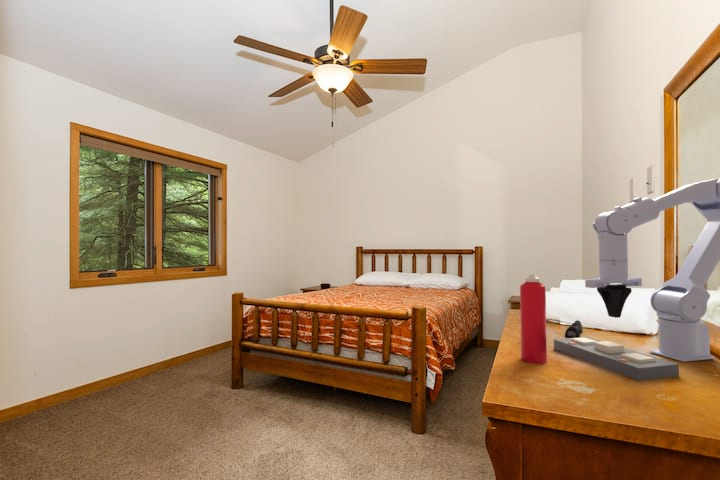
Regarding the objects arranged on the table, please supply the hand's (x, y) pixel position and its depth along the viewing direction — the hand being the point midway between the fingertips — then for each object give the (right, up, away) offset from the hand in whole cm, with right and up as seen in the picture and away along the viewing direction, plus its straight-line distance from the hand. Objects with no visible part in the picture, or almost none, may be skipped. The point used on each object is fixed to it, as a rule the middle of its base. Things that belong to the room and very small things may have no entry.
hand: (614, 316), depth 89 cm
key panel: (-4, -9, -4) cm, 11 cm away
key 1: (-6, -10, +3) cm, 12 cm away
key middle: (-4, -9, -4) cm, 11 cm away
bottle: (-21, -10, -3) cm, 23 cm away
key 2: (-3, -10, -11) cm, 15 cm away
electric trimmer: (+4, -10, +23) cm, 26 cm away
